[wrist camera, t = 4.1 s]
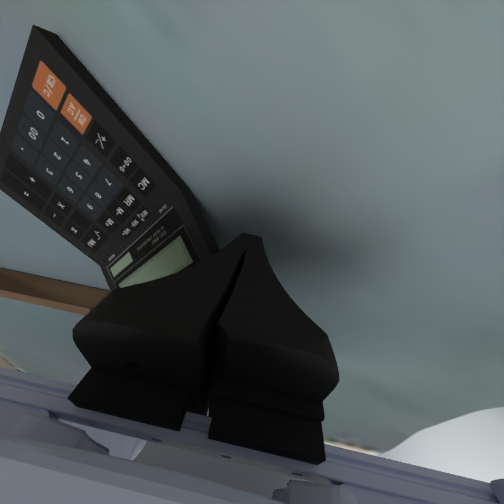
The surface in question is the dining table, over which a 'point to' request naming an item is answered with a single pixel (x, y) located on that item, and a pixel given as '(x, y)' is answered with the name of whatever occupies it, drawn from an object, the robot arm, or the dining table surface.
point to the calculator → (95, 172)
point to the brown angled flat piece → (49, 292)
